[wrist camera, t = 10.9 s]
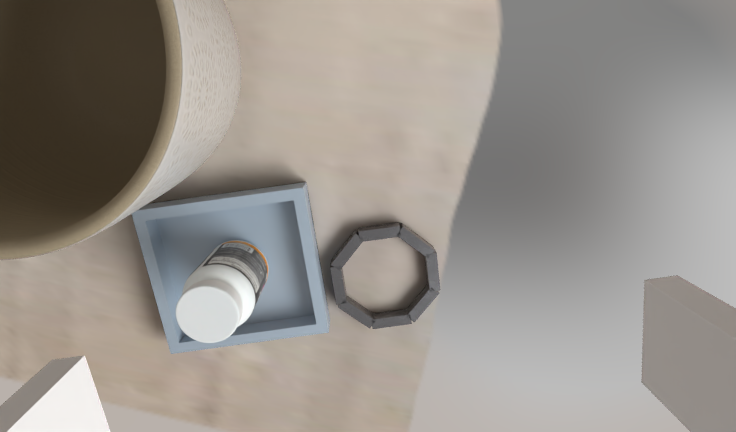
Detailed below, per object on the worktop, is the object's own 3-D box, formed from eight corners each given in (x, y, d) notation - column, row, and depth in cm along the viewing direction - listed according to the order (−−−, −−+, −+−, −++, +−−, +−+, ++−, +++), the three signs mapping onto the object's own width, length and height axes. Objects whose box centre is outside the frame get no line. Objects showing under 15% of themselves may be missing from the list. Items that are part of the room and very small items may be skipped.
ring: (325, 232, 43) (324, 236, 42) (431, 217, 43) (433, 221, 42) (341, 327, 46) (341, 333, 44) (440, 313, 46) (443, 319, 44)
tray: (143, 204, 42) (130, 211, 39) (306, 182, 42) (303, 187, 39) (180, 339, 45) (170, 353, 43) (330, 319, 45) (328, 332, 43)
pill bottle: (238, 305, 44) (206, 364, 35) (196, 262, 43) (150, 311, 33) (282, 269, 43) (262, 320, 34) (240, 225, 42) (207, 264, 32)
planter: (278, 175, 42) (218, 242, 23) (49, 195, 41) (-194, 279, 23) (242, -85, 36) (126, -267, 18) (-23, -63, 36) (-416, -223, 18)
